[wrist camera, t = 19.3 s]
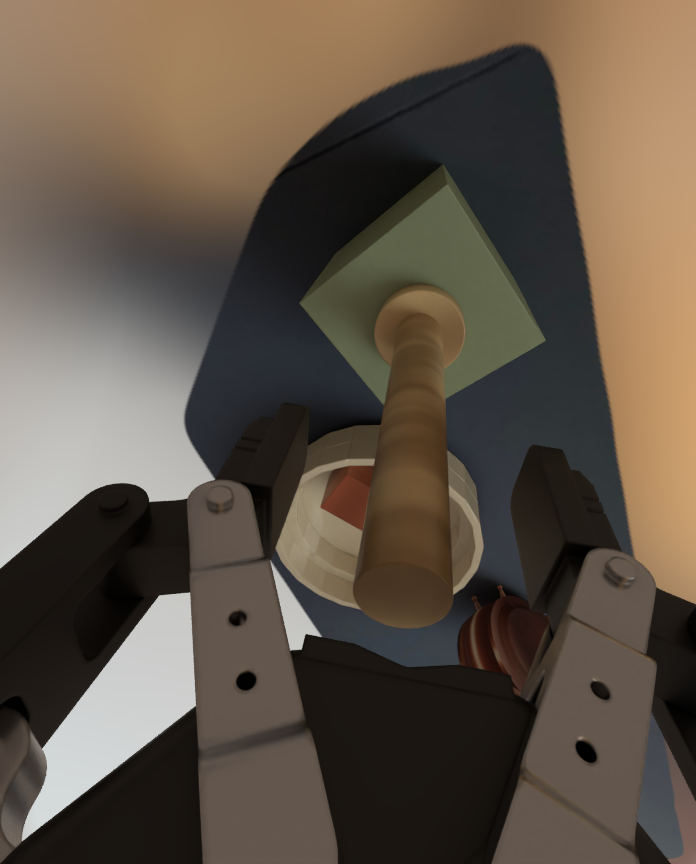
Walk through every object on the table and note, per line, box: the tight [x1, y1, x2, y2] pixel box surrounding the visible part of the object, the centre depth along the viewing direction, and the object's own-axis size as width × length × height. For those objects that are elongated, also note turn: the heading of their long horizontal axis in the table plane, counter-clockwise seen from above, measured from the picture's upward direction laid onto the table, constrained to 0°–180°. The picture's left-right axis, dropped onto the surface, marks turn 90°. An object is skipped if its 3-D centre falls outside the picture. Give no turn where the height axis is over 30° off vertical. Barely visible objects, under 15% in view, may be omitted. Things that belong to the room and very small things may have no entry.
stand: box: [300, 165, 545, 405], centre depth 26 cm, size 8×8×10 cm
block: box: [320, 466, 374, 531], centre depth 37 cm, size 4×4×4 cm
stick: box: [353, 284, 466, 628], centre depth 16 cm, size 4×4×15 cm
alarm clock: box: [457, 585, 549, 696], centre depth 39 cm, size 11×5×15 cm, turn 56°
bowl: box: [276, 425, 484, 610], centre depth 39 cm, size 16×16×5 cm
